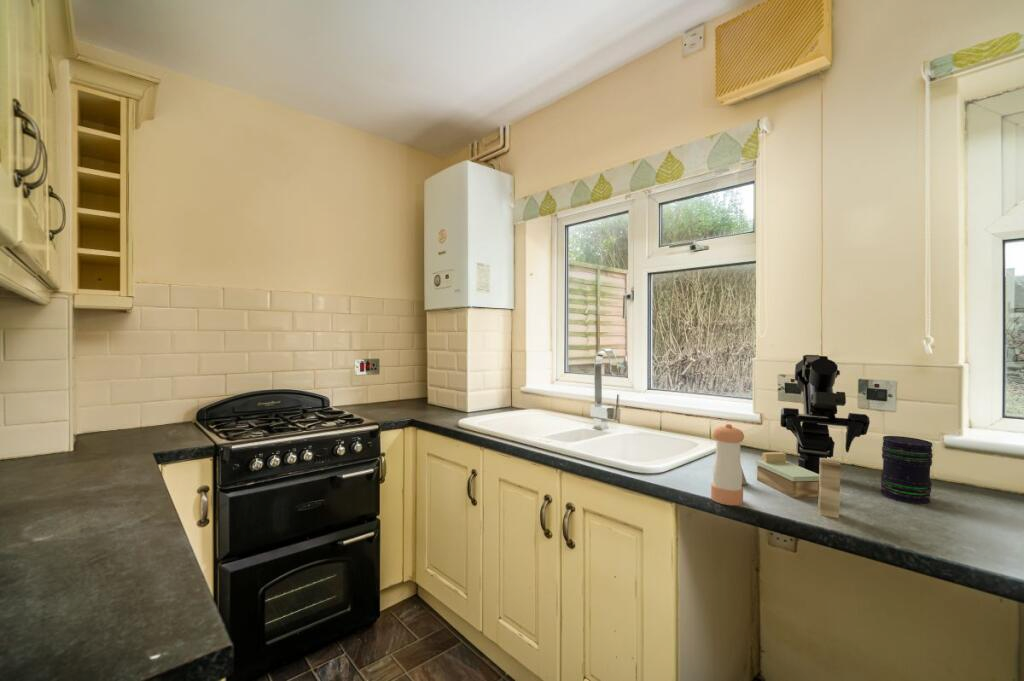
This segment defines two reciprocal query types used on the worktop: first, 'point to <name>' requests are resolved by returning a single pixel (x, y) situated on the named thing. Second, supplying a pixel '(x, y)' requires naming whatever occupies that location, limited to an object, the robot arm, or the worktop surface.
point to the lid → (785, 467)
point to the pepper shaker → (727, 466)
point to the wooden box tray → (788, 484)
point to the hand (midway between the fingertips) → (824, 448)
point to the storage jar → (906, 469)
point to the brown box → (829, 487)
